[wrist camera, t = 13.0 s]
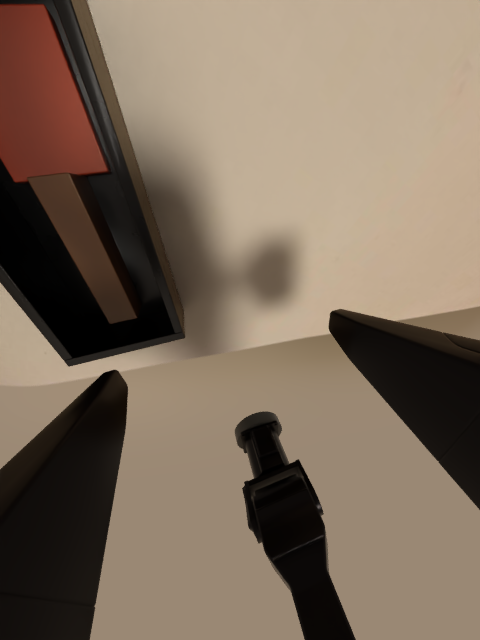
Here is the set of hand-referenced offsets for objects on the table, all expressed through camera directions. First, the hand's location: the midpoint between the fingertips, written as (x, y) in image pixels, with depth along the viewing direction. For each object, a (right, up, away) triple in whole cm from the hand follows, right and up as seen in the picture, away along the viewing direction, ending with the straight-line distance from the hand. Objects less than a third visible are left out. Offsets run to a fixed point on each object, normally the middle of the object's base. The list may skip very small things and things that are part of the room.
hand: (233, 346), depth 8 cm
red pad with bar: (-10, +8, +5) cm, 14 cm away
